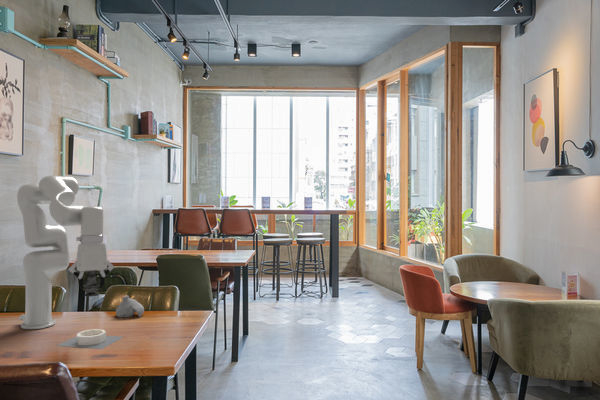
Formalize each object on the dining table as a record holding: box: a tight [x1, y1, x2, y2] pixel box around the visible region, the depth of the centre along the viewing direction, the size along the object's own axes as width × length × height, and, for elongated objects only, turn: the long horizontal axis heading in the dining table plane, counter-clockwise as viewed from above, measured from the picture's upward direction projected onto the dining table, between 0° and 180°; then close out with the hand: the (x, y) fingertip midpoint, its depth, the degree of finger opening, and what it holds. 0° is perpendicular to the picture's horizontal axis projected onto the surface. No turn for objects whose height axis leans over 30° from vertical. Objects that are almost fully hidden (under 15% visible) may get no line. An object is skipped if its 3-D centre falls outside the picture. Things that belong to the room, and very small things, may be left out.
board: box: [56, 335, 124, 350], centre depth 164 cm, size 18×14×1 cm
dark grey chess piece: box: [83, 271, 100, 298], centre depth 164 cm, size 6×6×12 cm
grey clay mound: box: [115, 295, 145, 318], centre depth 204 cm, size 12×12×11 cm
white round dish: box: [76, 328, 107, 345], centre depth 164 cm, size 9×9×3 cm
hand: (91, 287), depth 164 cm, fingers closed on dark grey chess piece, 5 cm apart
